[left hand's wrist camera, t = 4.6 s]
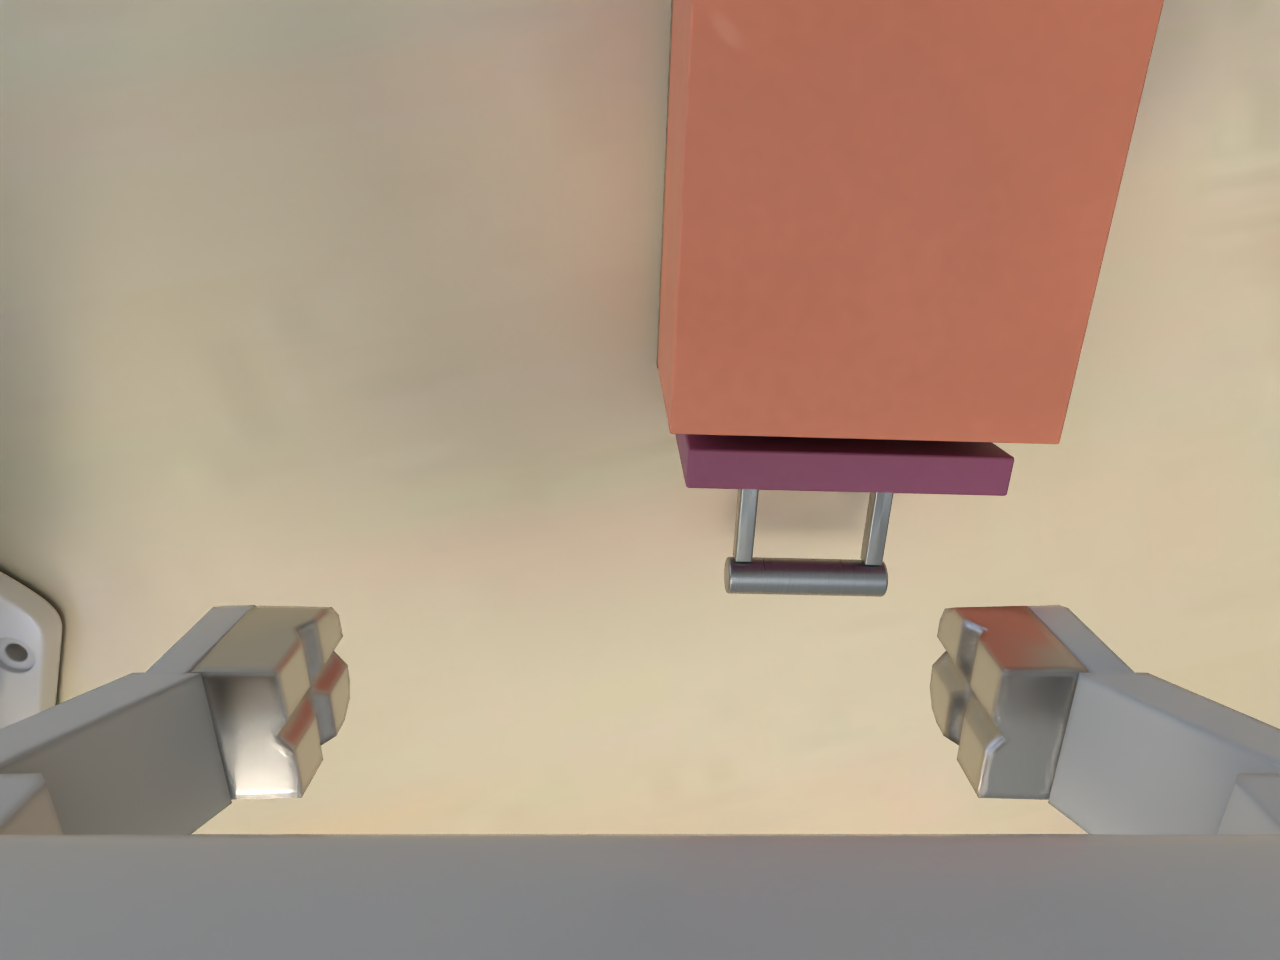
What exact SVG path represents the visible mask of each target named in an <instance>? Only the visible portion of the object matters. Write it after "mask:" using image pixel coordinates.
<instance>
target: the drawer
mask: <svg viewBox="0 0 1280 960" xmlns="http://www.w3.org/2000/svg"><path fill="white" fill-rule="evenodd" d="M675 435H676V440H677V444H678V449H679V454H680V459H681V464H682V468H683V473H684V478H685V483H686V486H687V487H688V488H718V489H738V500H737V512H736V524H735V536H734V548H733V556H734V557H728V558H727V559H726V562H725V571H724V581H725V589H726V592H727V593H739V594H787V595H834V596H883V595H884V594H885V593H886V590H887V585H888V573H887V568H886V565H885V563H884V562H883V561H882V560H883V554H884V548H885V541H886V535H887V529H888V523H889V517H890V510H891V504H892V498H893V493H919V494H959V495H999V496H1005V495H1006V494H1007V490H1008V486H1009V481H1010V477H1011V472H1012V467H1013V463H1014V457H1012V456H1011V455H1009V454H1008V453H1006V452H1005V451H1003V450H1002V449H1000V448H999V447H997V446H996V445H994V444H993V443H992V442H961V441H924V440H887V439H849V438H812V437H775V436H738V435H701V434H675ZM759 490H798V491H838V492H870V497H869V504H868V510H867V517H866V524H865V530H864V537H863V544H862V551H861V559H862V560H842V559H797V558H752V556H753V545H754V534H755V524H756V513H757V503H758V492H759Z"/></svg>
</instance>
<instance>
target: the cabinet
mask: <svg viewBox="0 0 1280 960" xmlns="http://www.w3.org/2000/svg"><path fill="white" fill-rule="evenodd" d="M1163 2H1164V0H672V6H671V30H670V54H669V78H668V102H667V126H666V150H665V174H664V198H663V223H662V247H661V271H660V295H659V319H658V343H657V368H658V370H659V375H660V380H661V386H662V391H663V396H664V402H665V407H666V412H667V418H668V422H669V423H668V424H669V429H670V433H672V434H701V435H738V436H775V437H812V438H849V439H887V440H924V441H961V442H998V443H1035V444H1059V442H1060V437H1061V433H1062V429H1063V425H1064V420H1065V416H1066V412H1067V408H1068V404H1069V399H1070V395H1071V391H1072V387H1073V382H1074V378H1075V374H1076V370H1077V365H1078V361H1079V357H1080V353H1081V349H1082V344H1083V340H1084V336H1085V332H1086V327H1087V323H1088V319H1089V315H1090V310H1091V306H1092V302H1093V298H1094V294H1095V289H1096V285H1097V281H1098V277H1099V272H1100V268H1101V264H1102V260H1103V255H1104V251H1105V247H1106V243H1107V239H1108V234H1109V230H1110V226H1111V222H1112V217H1113V213H1114V209H1115V205H1116V200H1117V196H1118V192H1119V188H1120V184H1121V179H1122V175H1123V171H1124V167H1125V162H1126V158H1127V154H1128V150H1129V145H1130V141H1131V137H1132V133H1133V129H1134V124H1135V120H1136V116H1137V112H1138V107H1139V103H1140V99H1141V95H1142V90H1143V86H1144V82H1145V78H1146V74H1147V69H1148V65H1149V61H1150V57H1151V52H1152V48H1153V44H1154V40H1155V35H1156V31H1157V27H1158V23H1159V19H1160V14H1161V10H1162V6H1163Z"/></svg>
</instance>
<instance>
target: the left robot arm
mask: <svg viewBox="0 0 1280 960" xmlns="http://www.w3.org/2000/svg"><path fill="white" fill-rule="evenodd" d="M342 637H343V635H342V629H341V624H340V619H339V615H338V614H337V612H336V611H335V610H334V609H333V608H332V607H295V606H255V605H237V606H219V607H213V608H212V609H211V610H210V611H209V612H208V613H207V614H206V615H205V616H204V617H203V618H202V619H201V620H199V621H198V622H197V623H196V624H195V625H194V626H193V627H192V628H191V629H190V630H189V631H188V632H187V633H186V634H185V635H184V636H183V637H182V638H181V639H180V640H179V641H178V642H177V643H176V644H175V645H173V646H172V647H171V648H170V649H169V650H168V651H167V652H166V653H165V654H164V655H163V656H162V657H161V658H160V659H159V660H158V661H157V662H156V663H155V664H154V665H153V666H152V667H151V668H150V669H149V670H148V671H146V672H145V673H131V674H129V675H126V676H124V677H122V678H119V679H117V680H115V681H112V682H110V683H108V684H105V685H103V686H100V687H98V688H96V689H93V690H91V691H89V692H86V693H84V694H82V695H79V696H77V697H75V698H72V699H70V700H68V701H65V702H63V703H60V704H58V705H56V697H57V686H58V675H59V664H60V653H61V642H62V621H61V618H60V616H59V614H58V612H57V611H56V610H55V608H54V607H53V606H52V605H51V604H50V603H48V602H47V601H46V600H45V599H44V598H42V597H41V596H40V595H38V594H37V593H35V592H34V591H32V590H31V589H29V588H28V587H26V586H24V585H23V584H21V583H19V582H18V581H16V580H14V579H13V578H11V577H9V576H7V575H6V574H4V573H2V572H1V571H0V960H1280V729H1278V728H1276V727H1273V726H1271V725H1269V724H1266V723H1264V722H1262V721H1259V720H1257V719H1255V718H1252V717H1250V716H1248V715H1245V714H1243V713H1241V712H1238V711H1236V710H1233V709H1231V708H1229V707H1226V706H1224V705H1222V704H1219V703H1217V702H1215V701H1212V700H1210V699H1208V698H1205V697H1203V696H1201V695H1198V694H1196V693H1194V692H1191V691H1189V690H1186V689H1184V688H1182V687H1179V686H1177V685H1175V684H1172V683H1170V682H1168V681H1165V680H1163V679H1161V678H1158V677H1156V676H1154V675H1151V674H1149V673H1135V672H1134V671H1133V670H1132V669H1130V668H1129V667H1128V666H1127V665H1126V664H1125V663H1124V662H1123V661H1122V660H1121V659H1120V658H1119V657H1118V656H1117V655H1116V654H1115V653H1114V652H1113V651H1112V650H1111V649H1110V648H1109V647H1108V646H1107V645H1106V644H1105V643H1104V642H1103V641H1101V640H1100V639H1099V638H1098V637H1097V636H1096V635H1095V634H1094V633H1093V632H1092V631H1091V630H1090V629H1089V628H1088V627H1087V626H1086V625H1085V624H1084V623H1083V622H1082V621H1081V620H1080V619H1079V618H1078V617H1077V616H1076V615H1075V614H1074V613H1072V612H1071V611H1070V610H1069V609H1068V608H1066V607H1063V606H1060V605H1044V606H1004V607H963V608H948V609H945V610H944V612H943V614H942V617H941V619H940V623H939V629H938V634H937V637H938V639H939V640H940V642H941V643H942V645H943V646H944V648H945V649H946V652H945V653H944V654H943V655H942V656H941V657H940V658H939V659H938V660H937V661H936V662H935V663H934V664H933V666H932V674H931V682H930V693H931V704H932V709H933V713H934V716H935V719H936V722H937V724H938V726H939V728H940V730H941V732H942V734H943V735H944V736H945V737H947V738H948V739H950V740H951V741H953V742H954V743H956V744H958V745H959V750H958V756H957V761H958V762H959V764H960V766H961V768H962V769H963V771H964V773H965V775H966V776H967V778H968V780H969V782H970V783H971V785H972V787H973V789H974V791H975V792H976V794H977V796H978V798H1010V799H1047V800H1049V801H1048V803H1049V804H1051V805H1052V806H1053V807H1055V808H1056V809H1057V810H1059V811H1060V812H1061V813H1062V814H1064V815H1065V816H1066V817H1068V818H1069V819H1070V820H1072V821H1073V822H1074V823H1075V824H1077V825H1078V826H1079V827H1081V828H1082V829H1083V830H1085V831H1086V832H1087V833H1089V834H192V833H193V832H194V831H196V830H197V829H198V828H200V827H201V826H202V825H203V824H205V823H206V822H207V821H209V820H210V819H211V818H213V817H214V816H215V815H217V814H218V813H219V812H220V811H222V810H223V809H224V808H226V807H227V806H228V805H230V804H231V802H232V801H231V800H233V799H268V798H302V796H303V794H304V792H305V791H306V789H307V787H308V785H309V784H310V782H311V780H312V778H313V777H314V775H315V773H316V771H317V769H318V768H319V766H320V764H321V762H322V761H323V756H322V750H321V745H322V744H324V743H326V742H327V741H329V740H330V739H332V738H333V737H335V736H336V735H337V734H338V732H339V730H340V728H341V726H342V724H343V722H344V720H345V716H346V712H347V708H348V703H349V699H350V679H349V672H348V665H347V664H346V663H345V662H344V661H343V660H342V659H341V658H340V657H339V656H338V655H337V654H336V653H335V652H334V649H335V648H336V646H337V645H338V643H339V642H340V640H341V639H342ZM20 645H21V646H22V647H24V648H25V649H23V648H22V647H21V646H20Z"/></svg>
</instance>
